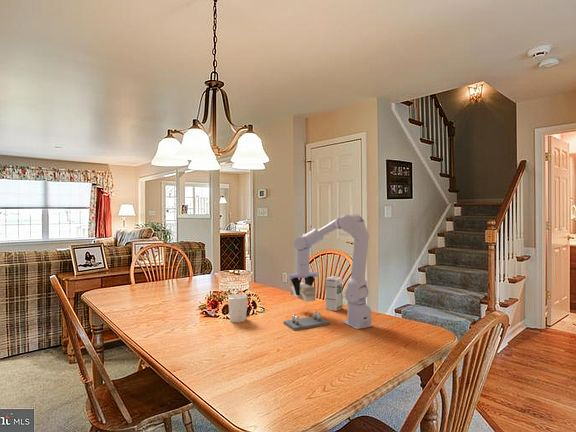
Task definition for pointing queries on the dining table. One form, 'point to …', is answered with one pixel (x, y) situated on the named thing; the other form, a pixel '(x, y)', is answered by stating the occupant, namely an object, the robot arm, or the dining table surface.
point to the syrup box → (334, 293)
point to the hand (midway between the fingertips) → (302, 294)
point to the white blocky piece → (304, 292)
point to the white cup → (237, 307)
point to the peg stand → (306, 322)
